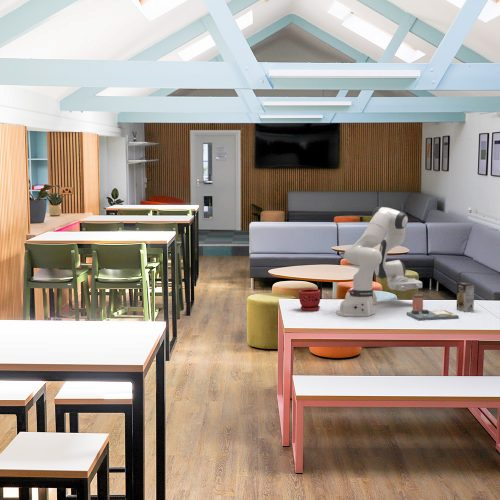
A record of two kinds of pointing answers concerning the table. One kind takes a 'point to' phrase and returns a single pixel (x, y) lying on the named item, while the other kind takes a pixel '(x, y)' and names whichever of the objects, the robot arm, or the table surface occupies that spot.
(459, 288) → the coffee box
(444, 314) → the switch board
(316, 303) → the plant pot
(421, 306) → the block
